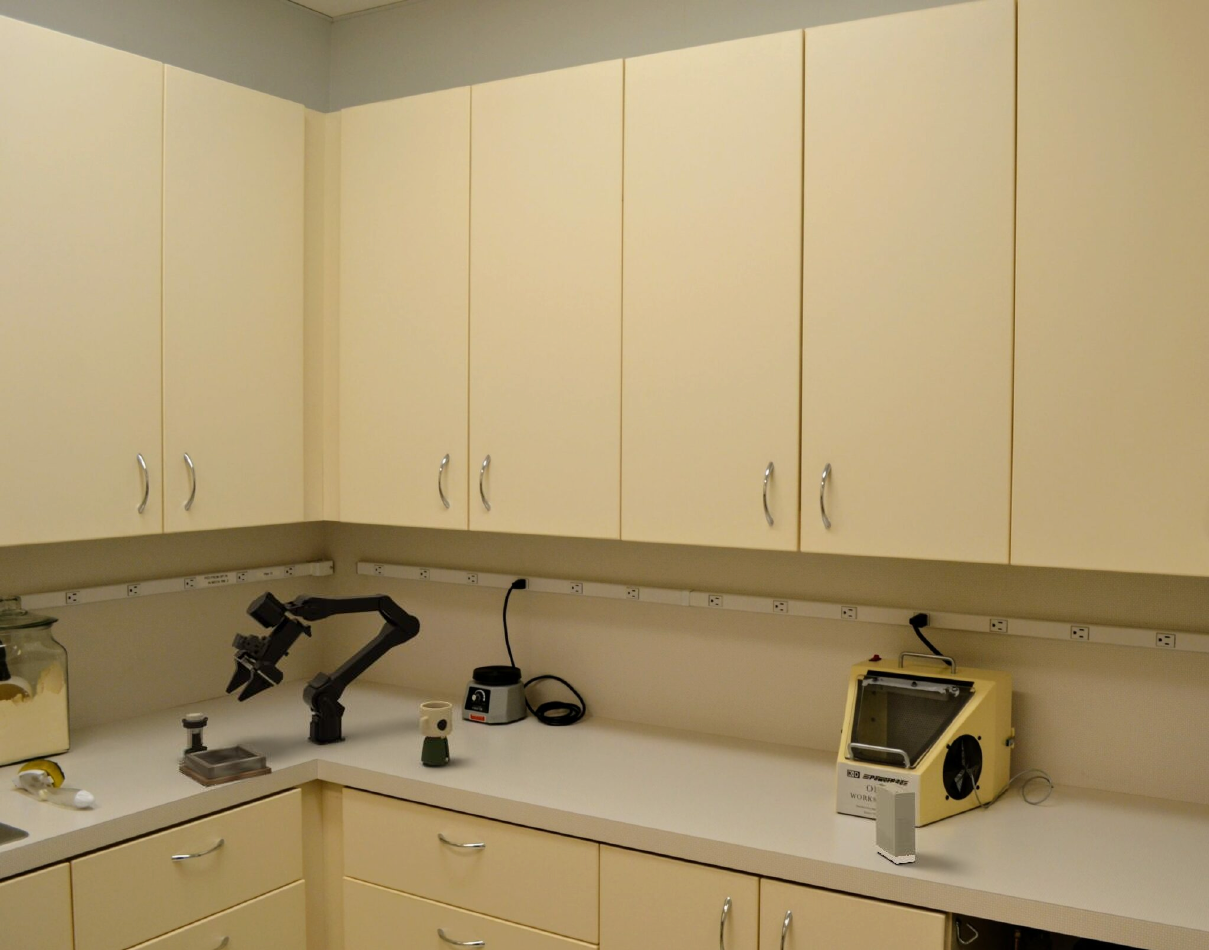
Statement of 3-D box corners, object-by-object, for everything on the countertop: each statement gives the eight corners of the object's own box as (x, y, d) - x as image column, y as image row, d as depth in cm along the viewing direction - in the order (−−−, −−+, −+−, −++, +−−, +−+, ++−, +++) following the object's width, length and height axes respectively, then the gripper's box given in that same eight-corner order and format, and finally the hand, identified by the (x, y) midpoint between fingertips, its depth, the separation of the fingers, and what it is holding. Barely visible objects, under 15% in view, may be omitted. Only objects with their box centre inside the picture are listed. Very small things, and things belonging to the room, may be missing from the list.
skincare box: (916, 862, 175) (918, 792, 175) (894, 865, 173) (895, 794, 173) (894, 849, 181) (896, 781, 180) (873, 852, 179) (874, 783, 179)
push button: (187, 766, 222) (188, 720, 221) (171, 762, 224) (171, 716, 224) (213, 758, 228) (213, 713, 227) (196, 754, 230) (196, 710, 230)
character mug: (434, 772, 220) (435, 712, 220) (407, 767, 223) (407, 708, 223) (462, 759, 230) (463, 701, 230) (436, 755, 233) (437, 697, 233)
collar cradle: (242, 758, 228) (242, 742, 228) (271, 772, 218) (271, 756, 218) (179, 770, 218) (179, 754, 218) (206, 786, 208) (206, 769, 208)
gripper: (241, 614, 240) (194, 668, 234) (266, 625, 225) (217, 683, 219) (276, 642, 245) (231, 696, 239) (303, 655, 230) (255, 713, 224)
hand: (232, 696), depth 230 cm, fingers open, 9 cm apart
